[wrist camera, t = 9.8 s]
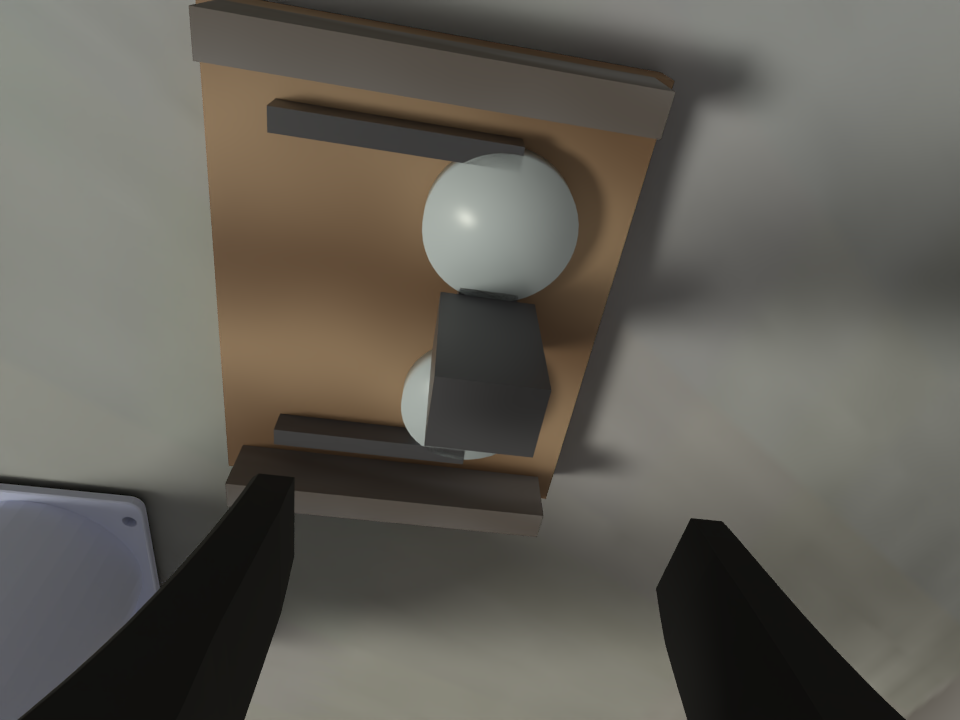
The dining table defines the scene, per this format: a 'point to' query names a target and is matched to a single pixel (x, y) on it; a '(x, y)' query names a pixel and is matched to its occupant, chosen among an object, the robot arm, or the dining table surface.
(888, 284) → the dining table surface
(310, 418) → the spectacles
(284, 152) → the stand
